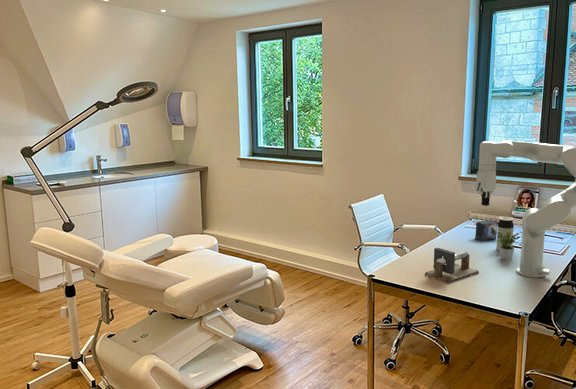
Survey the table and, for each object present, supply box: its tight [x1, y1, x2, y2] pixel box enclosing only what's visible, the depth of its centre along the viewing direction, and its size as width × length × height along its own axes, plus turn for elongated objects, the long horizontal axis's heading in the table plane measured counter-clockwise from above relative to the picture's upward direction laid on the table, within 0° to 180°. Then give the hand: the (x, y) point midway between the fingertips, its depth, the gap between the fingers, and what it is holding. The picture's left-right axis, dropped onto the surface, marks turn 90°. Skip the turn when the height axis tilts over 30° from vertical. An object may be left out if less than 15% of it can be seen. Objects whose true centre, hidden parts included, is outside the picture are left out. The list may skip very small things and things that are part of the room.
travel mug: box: [496, 216, 515, 252], centre depth 268 cm, size 8×8×18 cm
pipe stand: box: [424, 250, 480, 284], centre depth 234 cm, size 14×22×10 cm, turn 124°
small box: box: [474, 219, 498, 242], centre depth 291 cm, size 11×6×10 cm, turn 105°
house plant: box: [495, 229, 522, 261], centre depth 252 cm, size 14×14×16 cm
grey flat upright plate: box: [433, 247, 456, 274], centre depth 230 cm, size 10×2×10 cm, turn 34°
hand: (485, 205), depth 235 cm, fingers closed
